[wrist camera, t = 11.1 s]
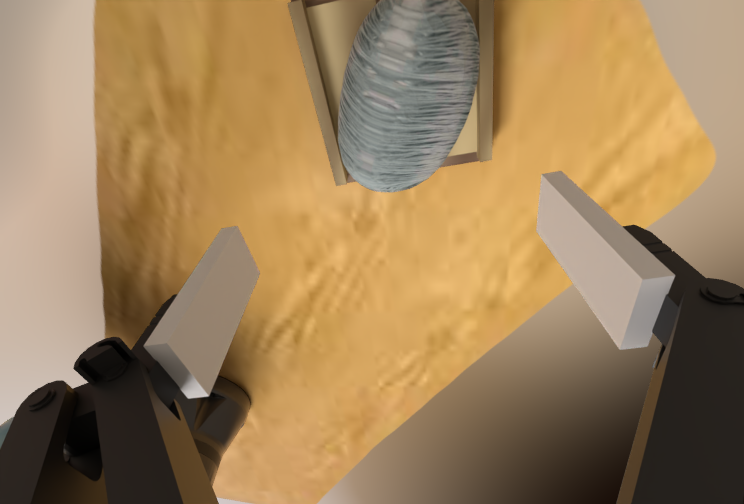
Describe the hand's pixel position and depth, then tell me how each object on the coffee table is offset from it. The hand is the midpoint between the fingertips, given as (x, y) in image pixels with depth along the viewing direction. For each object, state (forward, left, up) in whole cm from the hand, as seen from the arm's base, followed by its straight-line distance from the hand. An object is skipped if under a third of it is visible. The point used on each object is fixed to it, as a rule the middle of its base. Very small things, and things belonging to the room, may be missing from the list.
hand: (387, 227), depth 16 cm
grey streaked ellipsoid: (+2, +2, -18) cm, 18 cm away
